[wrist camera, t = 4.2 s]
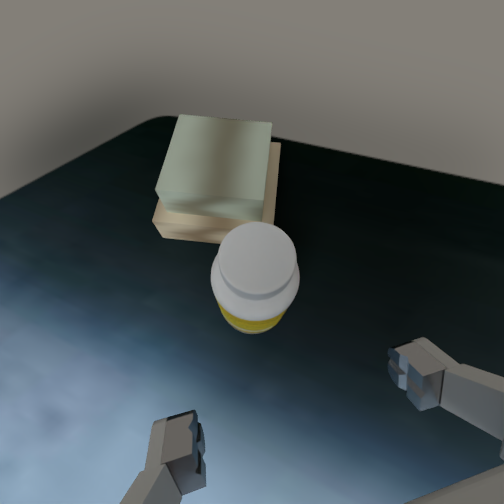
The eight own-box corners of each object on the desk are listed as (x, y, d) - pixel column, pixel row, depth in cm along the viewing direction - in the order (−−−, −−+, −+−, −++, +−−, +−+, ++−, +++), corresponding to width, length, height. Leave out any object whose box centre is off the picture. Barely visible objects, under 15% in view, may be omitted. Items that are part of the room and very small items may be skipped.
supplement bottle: (286, 335, 21) (315, 310, 12) (219, 334, 21) (196, 310, 12) (283, 271, 23) (306, 210, 14) (222, 270, 23) (205, 208, 14)
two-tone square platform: (163, 237, 24) (137, 199, 19) (186, 156, 28) (170, 105, 23) (269, 248, 24) (276, 213, 18) (277, 165, 28) (284, 115, 22)
